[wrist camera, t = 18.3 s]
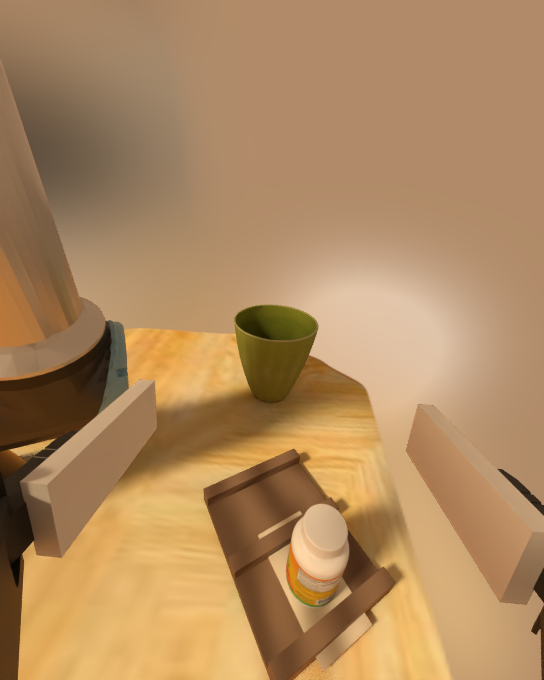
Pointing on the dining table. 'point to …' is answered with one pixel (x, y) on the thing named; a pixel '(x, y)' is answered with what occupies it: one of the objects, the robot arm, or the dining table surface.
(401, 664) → the dining table surface
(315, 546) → the supplement bottle
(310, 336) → the flower pot
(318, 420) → the dining table surface
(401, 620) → the dining table surface
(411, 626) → the dining table surface
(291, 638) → the slot board
